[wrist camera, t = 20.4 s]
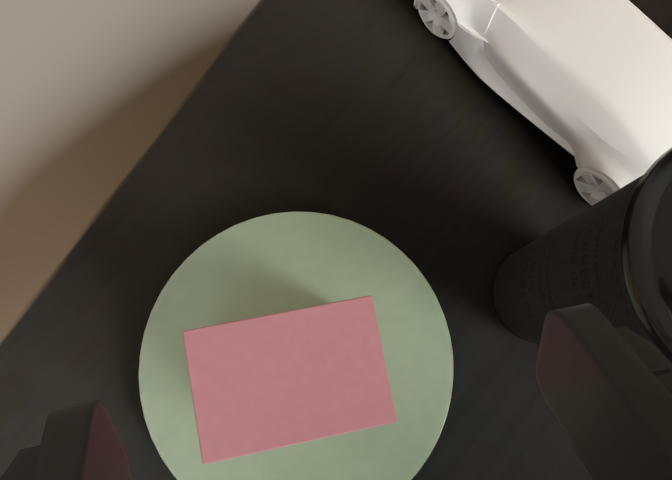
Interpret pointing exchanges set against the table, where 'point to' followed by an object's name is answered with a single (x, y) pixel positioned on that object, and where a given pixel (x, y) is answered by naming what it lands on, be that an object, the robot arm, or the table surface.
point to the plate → (289, 294)
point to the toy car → (572, 76)
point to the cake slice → (287, 378)
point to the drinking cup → (600, 264)
